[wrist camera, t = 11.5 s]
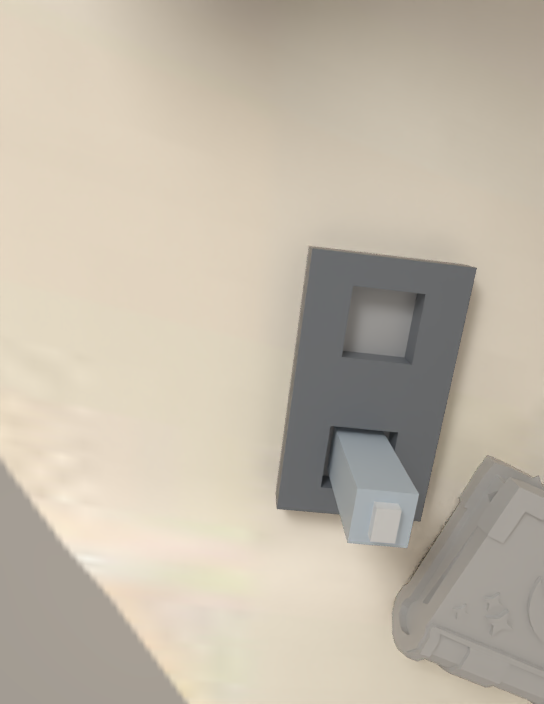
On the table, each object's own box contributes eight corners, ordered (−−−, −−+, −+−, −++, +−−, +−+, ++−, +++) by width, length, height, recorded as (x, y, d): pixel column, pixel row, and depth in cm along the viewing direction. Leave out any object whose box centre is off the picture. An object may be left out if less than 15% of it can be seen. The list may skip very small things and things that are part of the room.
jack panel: (308, 246, 39) (312, 248, 36) (463, 264, 39) (476, 268, 37) (275, 492, 44) (276, 508, 42) (411, 504, 45) (420, 521, 42)
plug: (334, 424, 42) (359, 495, 32) (381, 429, 42) (423, 501, 32) (327, 468, 43) (349, 550, 33) (373, 472, 43) (410, 555, 33)
